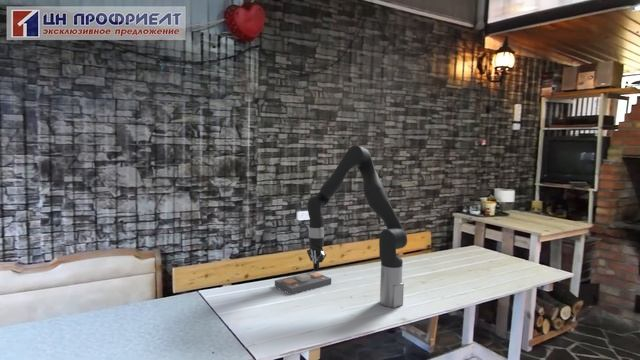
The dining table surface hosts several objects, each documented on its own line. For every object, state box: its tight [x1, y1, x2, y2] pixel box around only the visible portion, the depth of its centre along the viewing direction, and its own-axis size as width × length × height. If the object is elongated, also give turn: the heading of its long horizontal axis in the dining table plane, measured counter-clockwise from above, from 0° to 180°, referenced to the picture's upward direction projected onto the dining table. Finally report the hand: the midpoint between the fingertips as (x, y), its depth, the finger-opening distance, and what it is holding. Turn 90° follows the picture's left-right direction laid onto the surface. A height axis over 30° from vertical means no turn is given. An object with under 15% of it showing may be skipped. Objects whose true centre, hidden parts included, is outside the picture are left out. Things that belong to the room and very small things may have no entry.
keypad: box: [274, 270, 332, 296], centre depth 201 cm, size 14×24×3 cm, turn 129°
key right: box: [309, 271, 324, 279], centre depth 206 cm, size 5×5×3 cm
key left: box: [283, 278, 297, 285], centre depth 196 cm, size 5×5×3 cm
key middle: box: [295, 272, 311, 282], centre depth 201 cm, size 5×5×3 cm
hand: (316, 270), depth 205 cm, fingers closed
